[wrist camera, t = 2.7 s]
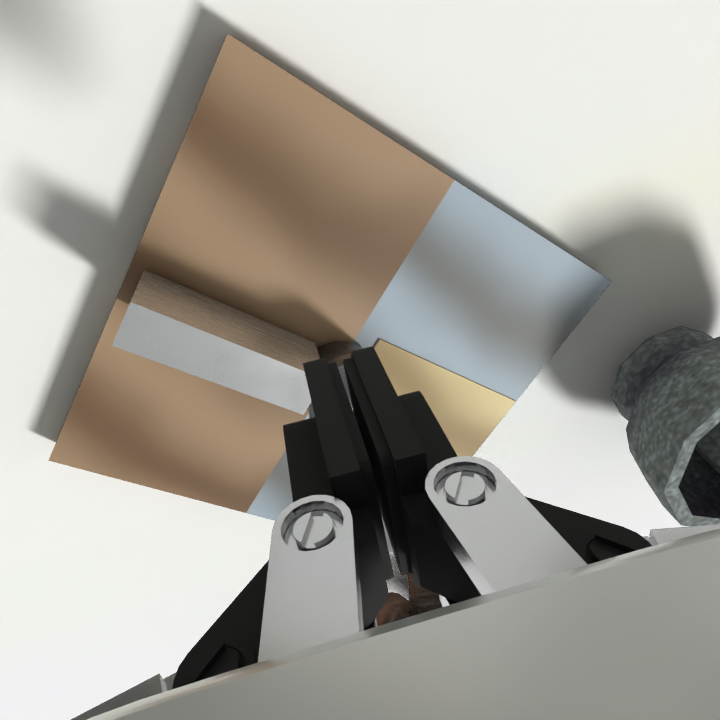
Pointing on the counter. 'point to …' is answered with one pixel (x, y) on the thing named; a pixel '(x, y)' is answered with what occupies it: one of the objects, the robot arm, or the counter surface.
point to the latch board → (318, 289)
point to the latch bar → (223, 344)
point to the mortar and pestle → (675, 420)
